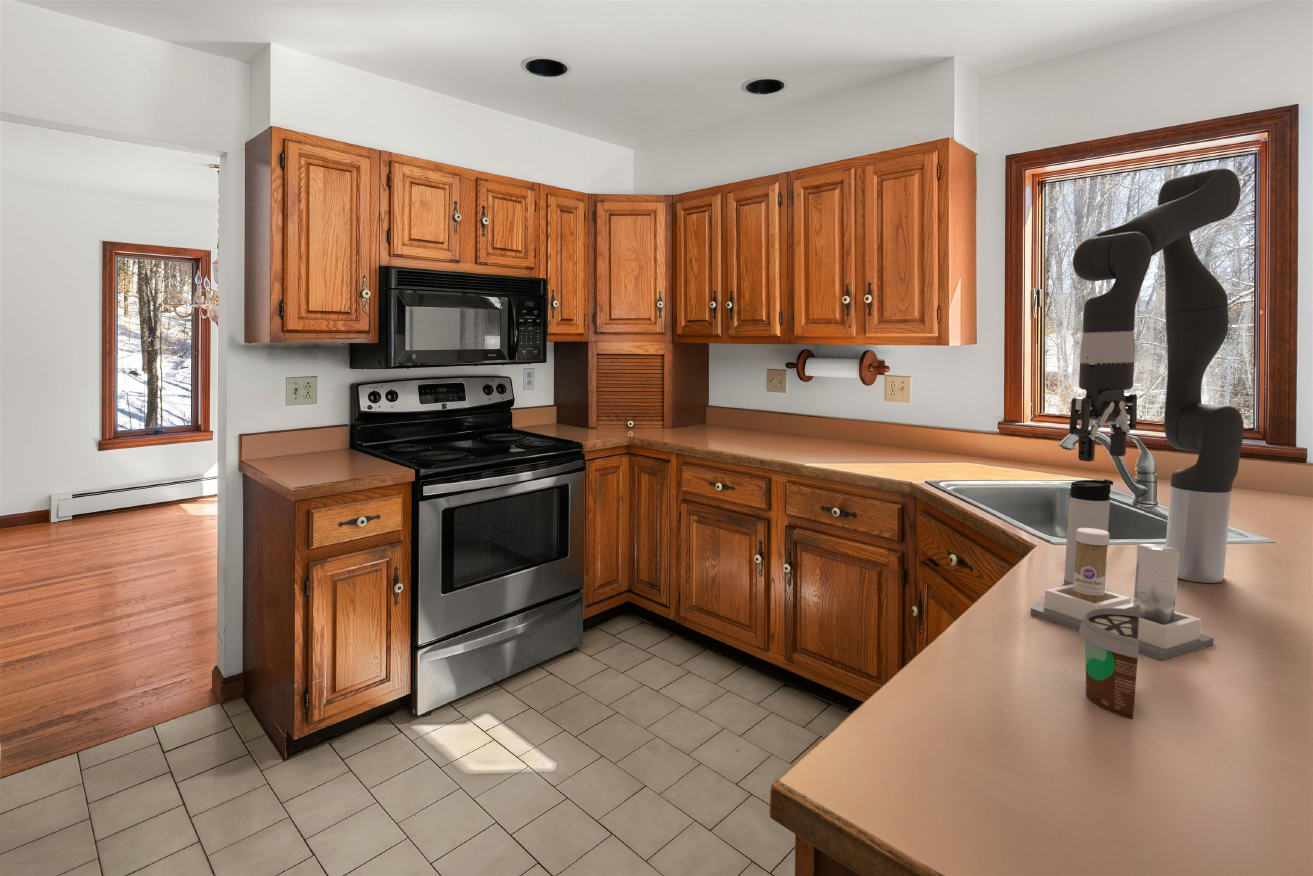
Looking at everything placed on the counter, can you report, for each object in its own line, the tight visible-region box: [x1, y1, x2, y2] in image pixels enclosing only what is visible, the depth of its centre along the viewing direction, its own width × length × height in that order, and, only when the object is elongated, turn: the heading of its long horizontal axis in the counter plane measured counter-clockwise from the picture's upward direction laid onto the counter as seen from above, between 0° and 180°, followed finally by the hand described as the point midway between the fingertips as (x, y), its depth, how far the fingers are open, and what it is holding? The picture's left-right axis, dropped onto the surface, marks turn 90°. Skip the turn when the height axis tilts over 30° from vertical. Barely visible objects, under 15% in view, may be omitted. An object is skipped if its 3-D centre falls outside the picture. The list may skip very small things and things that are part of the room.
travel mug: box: [1063, 479, 1114, 586], centre depth 129 cm, size 6×7×20 cm
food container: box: [1078, 608, 1140, 720], centre depth 87 cm, size 12×6×10 cm, turn 145°
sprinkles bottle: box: [1073, 528, 1111, 603], centre depth 114 cm, size 5×5×14 cm
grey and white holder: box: [1030, 584, 1215, 662], centre depth 110 cm, size 13×20×4 cm, turn 26°
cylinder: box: [1132, 543, 1179, 625], centre depth 104 cm, size 5×5×13 cm
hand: (1102, 458), depth 117 cm, fingers open, 8 cm apart
